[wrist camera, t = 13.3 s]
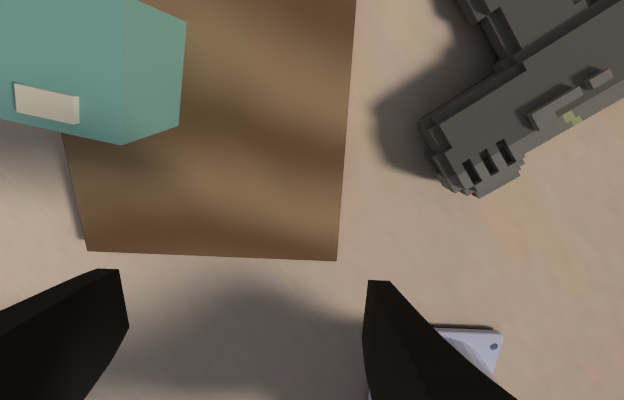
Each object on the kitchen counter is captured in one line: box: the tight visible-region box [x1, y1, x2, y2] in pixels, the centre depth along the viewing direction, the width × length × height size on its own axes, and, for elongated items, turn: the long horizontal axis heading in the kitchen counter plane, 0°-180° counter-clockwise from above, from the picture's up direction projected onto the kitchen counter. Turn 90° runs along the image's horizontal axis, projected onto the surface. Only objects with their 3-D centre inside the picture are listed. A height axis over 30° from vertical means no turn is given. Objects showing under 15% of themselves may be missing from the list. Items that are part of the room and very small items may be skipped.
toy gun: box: [417, 0, 624, 198], centre depth 14 cm, size 4×16×10 cm
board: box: [61, 0, 356, 261], centre depth 15 cm, size 14×14×4 cm
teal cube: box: [0, 0, 187, 146], centre depth 13 cm, size 5×5×5 cm
